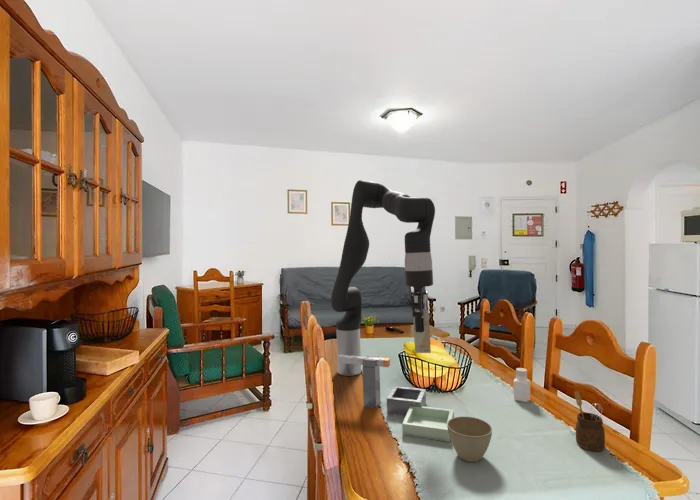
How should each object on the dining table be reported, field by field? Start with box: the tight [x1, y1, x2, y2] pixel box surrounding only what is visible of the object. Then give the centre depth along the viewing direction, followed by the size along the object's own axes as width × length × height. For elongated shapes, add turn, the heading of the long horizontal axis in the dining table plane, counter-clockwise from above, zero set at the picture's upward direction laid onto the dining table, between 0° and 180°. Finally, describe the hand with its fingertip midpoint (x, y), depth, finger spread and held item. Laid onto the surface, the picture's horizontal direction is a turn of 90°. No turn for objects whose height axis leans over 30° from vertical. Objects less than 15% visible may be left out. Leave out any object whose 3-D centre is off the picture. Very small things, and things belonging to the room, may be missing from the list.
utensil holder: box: [574, 391, 606, 452], centre depth 91 cm, size 6×6×12 cm
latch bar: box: [338, 355, 391, 368], centre depth 119 cm, size 2×16×2 cm, turn 70°
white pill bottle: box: [513, 367, 531, 403], centre depth 118 cm, size 4×4×10 cm
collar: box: [386, 385, 427, 417], centre depth 115 cm, size 10×10×4 cm
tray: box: [401, 405, 455, 443], centre depth 103 cm, size 12×12×3 cm
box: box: [412, 309, 432, 354], centre depth 105 cm, size 5×4×11 cm
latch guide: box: [361, 355, 381, 409], centre depth 118 cm, size 5×4×14 cm
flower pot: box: [447, 415, 493, 463], centre depth 88 cm, size 10×10×7 cm
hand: (421, 329), depth 106 cm, fingers closed on box, 5 cm apart
